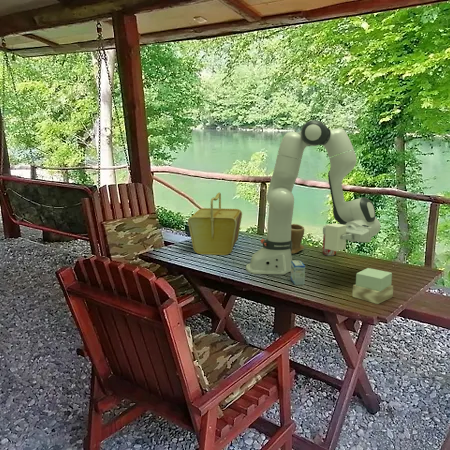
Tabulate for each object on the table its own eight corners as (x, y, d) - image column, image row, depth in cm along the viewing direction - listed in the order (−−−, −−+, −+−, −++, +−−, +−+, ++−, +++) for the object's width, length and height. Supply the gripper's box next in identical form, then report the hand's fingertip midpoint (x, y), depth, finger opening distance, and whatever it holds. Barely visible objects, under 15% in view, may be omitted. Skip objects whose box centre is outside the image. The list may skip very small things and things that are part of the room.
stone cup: (297, 256, 242) (298, 228, 239) (277, 253, 249) (277, 225, 246) (310, 250, 254) (311, 223, 251) (290, 247, 261) (291, 221, 258)
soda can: (336, 256, 241) (337, 234, 239) (322, 256, 242) (323, 233, 240) (336, 253, 248) (337, 231, 245) (322, 252, 249) (323, 230, 247)
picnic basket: (198, 242, 274) (197, 191, 268) (242, 243, 270) (242, 192, 264) (187, 255, 245) (186, 198, 239) (236, 256, 242) (236, 199, 236)
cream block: (324, 248, 194) (325, 225, 192) (333, 246, 198) (334, 223, 196) (336, 251, 190) (337, 227, 187) (345, 248, 193) (346, 225, 191)
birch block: (352, 297, 184) (352, 285, 183) (367, 291, 191) (368, 279, 190) (377, 304, 176) (378, 292, 175) (392, 298, 183) (393, 285, 182)
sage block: (355, 285, 182) (356, 273, 181) (367, 279, 189) (367, 267, 188) (380, 291, 176) (381, 278, 175) (391, 285, 183) (392, 272, 182)
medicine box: (290, 279, 205) (290, 260, 203) (300, 279, 205) (300, 260, 204) (294, 285, 197) (295, 265, 196) (304, 284, 198) (305, 265, 196)
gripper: (334, 220, 208) (314, 224, 199) (375, 227, 193) (355, 232, 184) (333, 234, 209) (314, 239, 200) (374, 242, 194) (354, 248, 185)
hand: (334, 236), depth 192 cm, fingers closed on cream block, 6 cm apart
